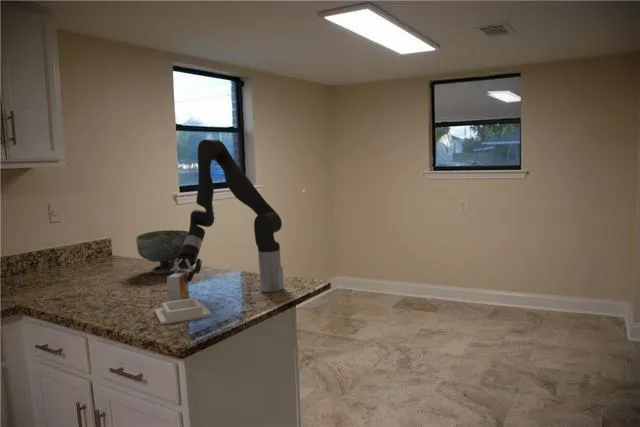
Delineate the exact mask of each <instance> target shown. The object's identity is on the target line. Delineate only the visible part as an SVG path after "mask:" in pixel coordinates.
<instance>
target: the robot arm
mask: <svg viewBox="0 0 640 427" xmlns="http://www.w3.org/2000/svg"><path fill="white" fill-rule="evenodd" d="M212 161H215V162H216V163H217V165H218V166H220V168H221V169H222V171H223V174H224V178H225V179H224V180H225V183H226V186H227V188H228V189H229V190H230V192H231V193H232V194H233V196H234V197H235V198H236V199H237V200H238V201H240V202H241V203H242V204H244V205H245V206H246V207H249V209H251V210H252V211H253V212H254V213H255V214H256V215H257V216H255V218H254V223H253V230H254V231H253V232H254V241H255V245H256V247H257V252H258V255H257V256H258V271H259V284H260V291H261V292H263V293H277V292H280V291H282V290H283V289H285V288H284V287H285V286H284V269H283V266H282V264H281V247H280V246H281V245H280V243H279V242H277V241H276V240H275V235H274V233H275V234H276V233H277V232H279V231H280V230H281V229H282V225H283V222H282V219H281V217H280V214H278V213H277V211H276V210H275V209H274V208H273V207H272V206H271V205H270V204H269V203H268V202H267V201H266V200H265V199H264V197H263V196H262V194H260V192H259V191H258V189H256V187H255V186H254V184H253V183H252V182H251V180H250V178H248V176H247V175H246V174H245V173H244V171H243V170H242V168H241V167H240V166H239V165H238V164H237V162H236V161H235V159H234V158H233V156H232V155H231V153H230V151H229V150H228V148H227V147H226V145H225V144H224V143H223V142H222V141H221V140H220V139H218V138H205V139H202V140H201V141H200V142H199V143H198V145H197V171H198V172H197V174H198V175H197V176H198V180H197V182H198V185H197V186H198V187H197V193H196V199H195V200H196V205H198V206H200V207H202V208H204V209H205V210H203V209H199V208H198V209H193V210H192V211H191V213H190V221H189V230H188V235H187V237H186V239H185V241H184V244H183V246H182V249H181V251H180V254H179V258H178V259H174V258H172V259H171V261H170V263H169V265H168V267H167V270H168V271H169V272H170V273H168V276H170V275H172V274H174V273H178V272H180V271H181V270H189V272H188V273H187V276H188V277H187V281H188V283H191V282H192V280H193V278H194V275H195V274H199V273H200V271H201V267H202V265H203V261H202V260H201V258H200V257H199V258H198V256H199V254H200V250H201V247H202V243H203V241H204V239H205V236H206V235H205V234H206V230H205V229H204V228H205V227H206V228H209V227H212V226H213V225H214V223H215V215H214V214H215V213H214V209H213V208H214V207H213V200H214V193H215V192H214V191H215V187H214V182H213V181H214V180H213V178H212V173H211V165H212V164H211V163H212ZM202 227H204V228H202ZM194 265H195V266H194ZM193 266H194V267H193ZM177 267H178V268H177Z"/></svg>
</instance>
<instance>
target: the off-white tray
mask: <svg viewBox="0 0 640 427" xmlns="http://www.w3.org/2000/svg"><path fill="white" fill-rule="evenodd" d="M153 311H154V313H155V315H156V316H155V317H157V320H158V322H159V323H160V325H161V326H162V325H166V324H167V325H168V324H173V323H178V322H184V321H191V320H196V319H201V318H207V317H212V312H211V311H210V310H209V308H208V307H207V306H205V304H204V303H203V302H202V301H198V300H197V299H196V298H195V297H191V298H190V297H188V298H186V299H183V300H176V301H170V302H169V301H164V302H161V307H160V308H154V310H153Z"/></svg>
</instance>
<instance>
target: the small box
mask: <svg viewBox="0 0 640 427" xmlns="http://www.w3.org/2000/svg"><path fill="white" fill-rule="evenodd" d="M187 277H188V272H176V273H174V274H172V275H170V276H169V275H168V276H167V277H166V286H167V288H166V289H167V298H168V302H170V301H176V300H183V299H189V298H190V294H189V292H190V291H189V282H188V281H187Z"/></svg>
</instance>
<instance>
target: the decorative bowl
mask: <svg viewBox="0 0 640 427" xmlns="http://www.w3.org/2000/svg"><path fill="white" fill-rule="evenodd" d="M188 232H189V230H188V231H187V230H156V231H148V232H145V233H141V234H139V235H137V236H136V237H135V240H136V247H137V253H138V255H139V256H140V257H141V258H143V259H145V260H147V261H149V262H153V263H157V262H159V265H158V266H155V267H154V268H153V269H152V273H153V274H157V275H159V274H161V275H163V274H170V272H169V271H168V270H167V267H168V265H169V263H170V261H171V259H172V258H174V259H178V258H179V254H180V251H181V249H182V246H183V244H184V241H185V239H186V237H187V235H188ZM177 268H179V266H177Z"/></svg>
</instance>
